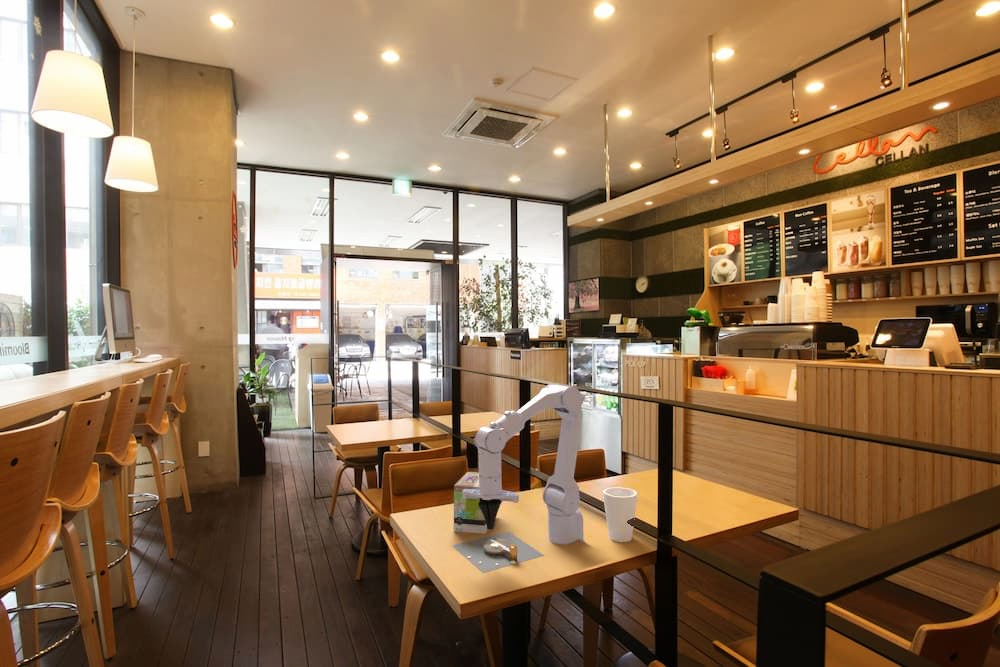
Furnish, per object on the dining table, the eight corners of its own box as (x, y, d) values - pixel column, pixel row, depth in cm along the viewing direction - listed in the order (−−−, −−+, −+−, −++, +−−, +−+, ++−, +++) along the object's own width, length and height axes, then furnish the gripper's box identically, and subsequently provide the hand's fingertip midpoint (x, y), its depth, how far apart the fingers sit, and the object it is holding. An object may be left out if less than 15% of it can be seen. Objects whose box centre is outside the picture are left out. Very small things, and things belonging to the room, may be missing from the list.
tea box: (486, 538, 147) (485, 486, 147) (452, 535, 150) (452, 485, 149) (497, 518, 162) (496, 472, 162) (466, 516, 164) (465, 470, 164)
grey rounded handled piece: (478, 548, 137) (478, 537, 137) (499, 541, 141) (499, 530, 141) (504, 564, 128) (504, 552, 128) (526, 556, 132) (526, 544, 132)
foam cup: (626, 529, 152) (626, 485, 152) (644, 541, 143) (643, 495, 143) (597, 533, 149) (597, 489, 149) (613, 546, 141) (613, 498, 141)
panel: (508, 535, 149) (508, 530, 149) (544, 559, 133) (544, 554, 133) (452, 549, 140) (451, 544, 140) (483, 577, 124) (483, 571, 124)
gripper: (457, 477, 129) (458, 531, 129) (514, 481, 125) (514, 536, 125) (466, 469, 136) (467, 520, 136) (520, 473, 132) (521, 525, 132)
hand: (490, 527), depth 131 cm, fingers closed
